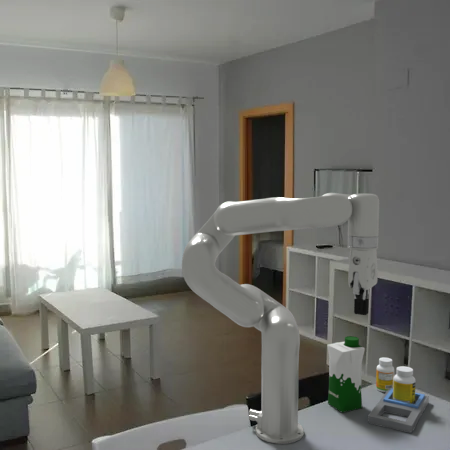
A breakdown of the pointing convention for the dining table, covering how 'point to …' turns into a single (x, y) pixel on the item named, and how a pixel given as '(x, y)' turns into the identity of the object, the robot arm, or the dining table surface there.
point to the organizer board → (398, 412)
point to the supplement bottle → (384, 374)
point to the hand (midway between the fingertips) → (361, 313)
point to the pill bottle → (404, 385)
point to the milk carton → (345, 374)
